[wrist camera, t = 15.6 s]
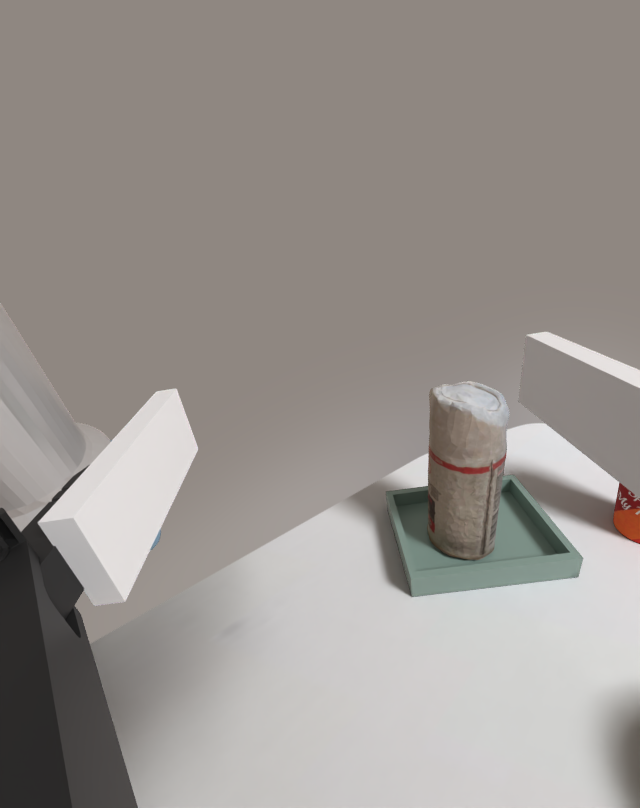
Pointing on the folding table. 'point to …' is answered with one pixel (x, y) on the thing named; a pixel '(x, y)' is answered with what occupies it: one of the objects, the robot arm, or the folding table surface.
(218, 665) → the folding table surface
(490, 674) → the folding table surface
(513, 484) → the tray
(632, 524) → the paper cup
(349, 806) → the folding table surface
